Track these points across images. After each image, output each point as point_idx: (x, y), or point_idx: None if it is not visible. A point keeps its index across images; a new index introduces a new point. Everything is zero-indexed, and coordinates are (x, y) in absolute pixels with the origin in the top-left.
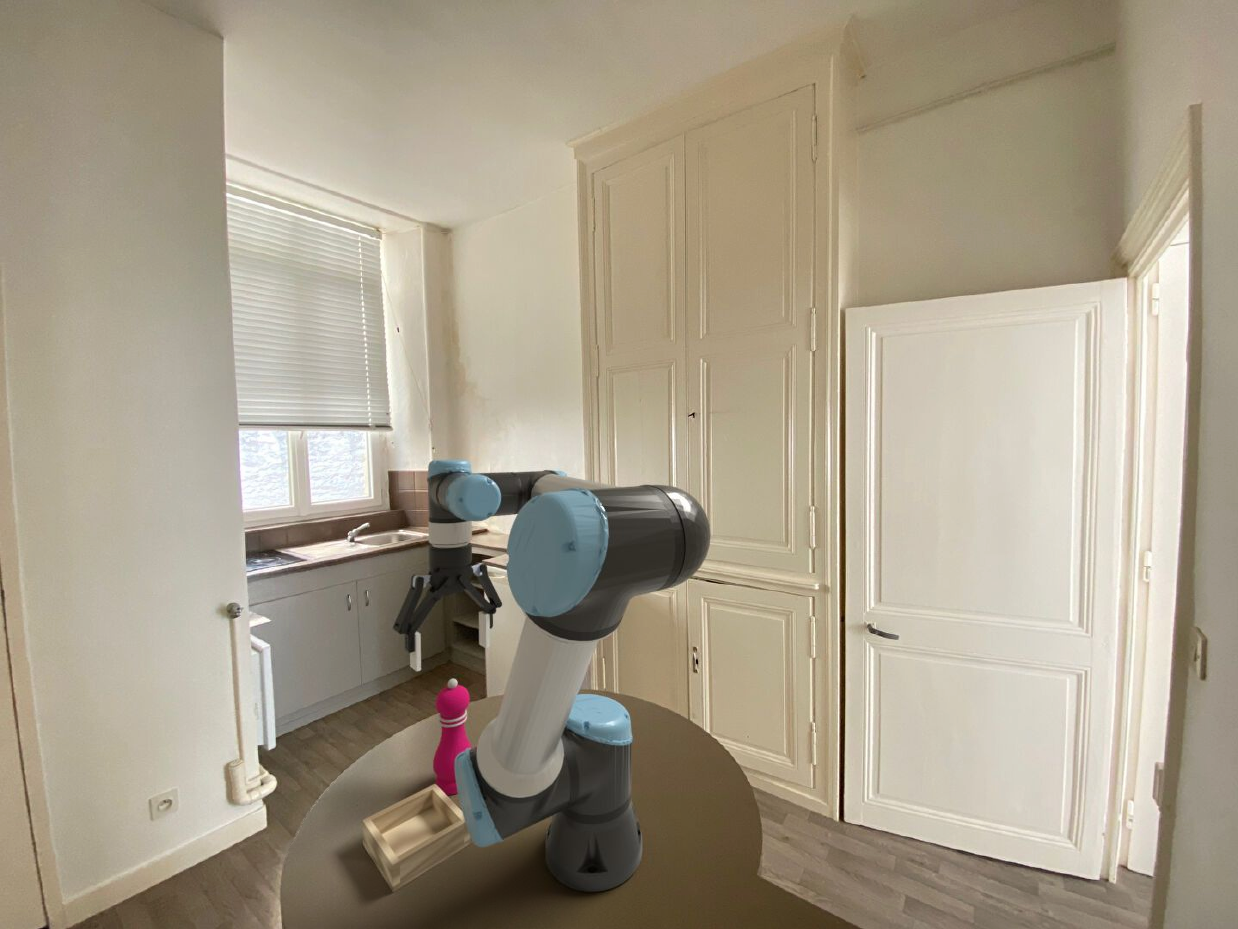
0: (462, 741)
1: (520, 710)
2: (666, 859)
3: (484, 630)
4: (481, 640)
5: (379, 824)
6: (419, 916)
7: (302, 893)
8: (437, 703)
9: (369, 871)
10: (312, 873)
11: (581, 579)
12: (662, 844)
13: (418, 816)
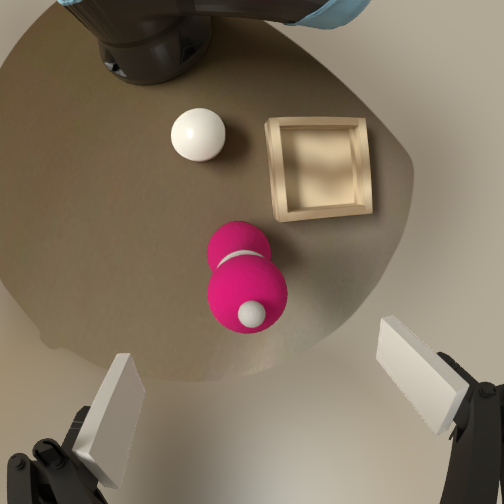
0: (231, 245)
1: None
2: None
3: (116, 408)
4: (136, 393)
5: (352, 205)
6: (338, 81)
7: (408, 186)
8: (287, 293)
9: None
10: (398, 205)
11: None
12: None
13: (302, 204)
